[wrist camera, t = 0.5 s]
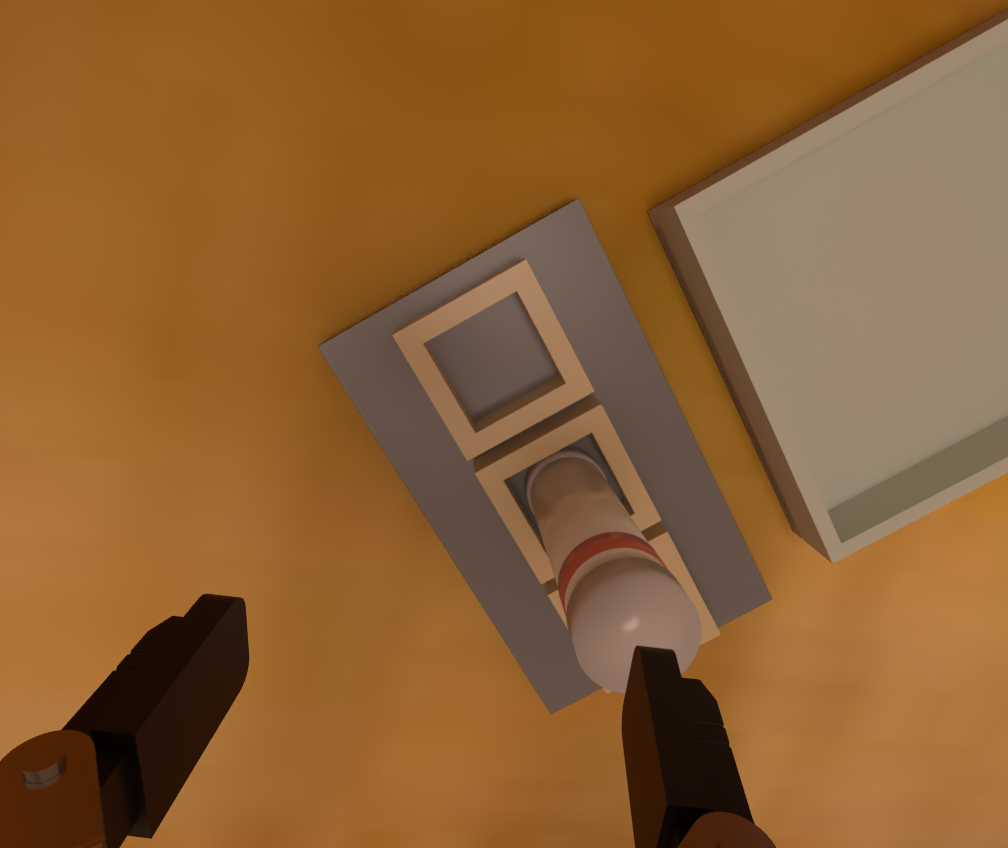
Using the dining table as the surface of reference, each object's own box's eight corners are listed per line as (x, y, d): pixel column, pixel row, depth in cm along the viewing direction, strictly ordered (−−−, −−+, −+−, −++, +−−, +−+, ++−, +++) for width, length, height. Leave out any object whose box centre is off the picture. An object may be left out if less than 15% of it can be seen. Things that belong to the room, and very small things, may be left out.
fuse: (537, 437, 33) (598, 566, 20) (611, 456, 34) (720, 595, 20) (515, 509, 34) (558, 680, 21) (587, 527, 35) (676, 704, 21)
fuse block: (323, 342, 33) (308, 353, 29) (572, 200, 32) (587, 194, 28) (547, 697, 39) (556, 739, 36) (760, 586, 38) (790, 618, 35)
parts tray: (647, 211, 32) (674, 206, 28) (1015, 4, 31) (1095, -31, 27) (793, 531, 37) (832, 563, 34) (1113, 362, 36) (1192, 376, 32)
